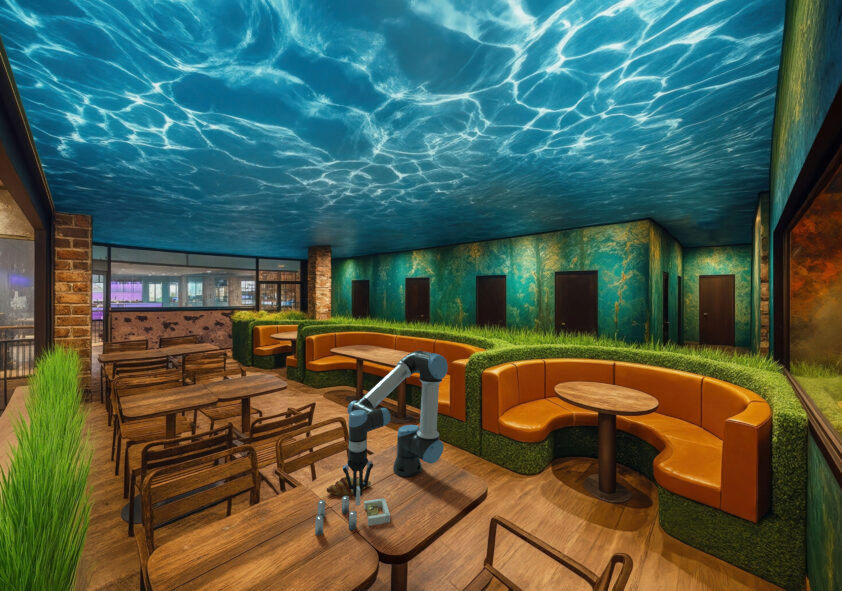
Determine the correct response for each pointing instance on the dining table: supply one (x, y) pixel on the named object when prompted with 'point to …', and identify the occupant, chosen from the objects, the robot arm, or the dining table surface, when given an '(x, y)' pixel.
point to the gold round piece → (372, 510)
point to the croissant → (343, 487)
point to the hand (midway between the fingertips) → (357, 503)
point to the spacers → (344, 510)
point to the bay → (381, 517)
